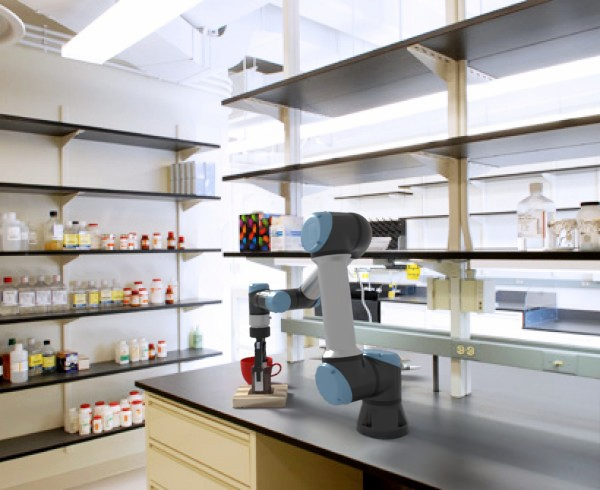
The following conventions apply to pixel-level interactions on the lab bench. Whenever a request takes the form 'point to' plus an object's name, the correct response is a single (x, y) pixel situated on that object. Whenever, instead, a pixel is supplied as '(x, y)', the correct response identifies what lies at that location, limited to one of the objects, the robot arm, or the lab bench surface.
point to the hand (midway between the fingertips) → (261, 385)
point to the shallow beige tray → (260, 397)
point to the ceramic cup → (249, 362)
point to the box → (266, 381)
